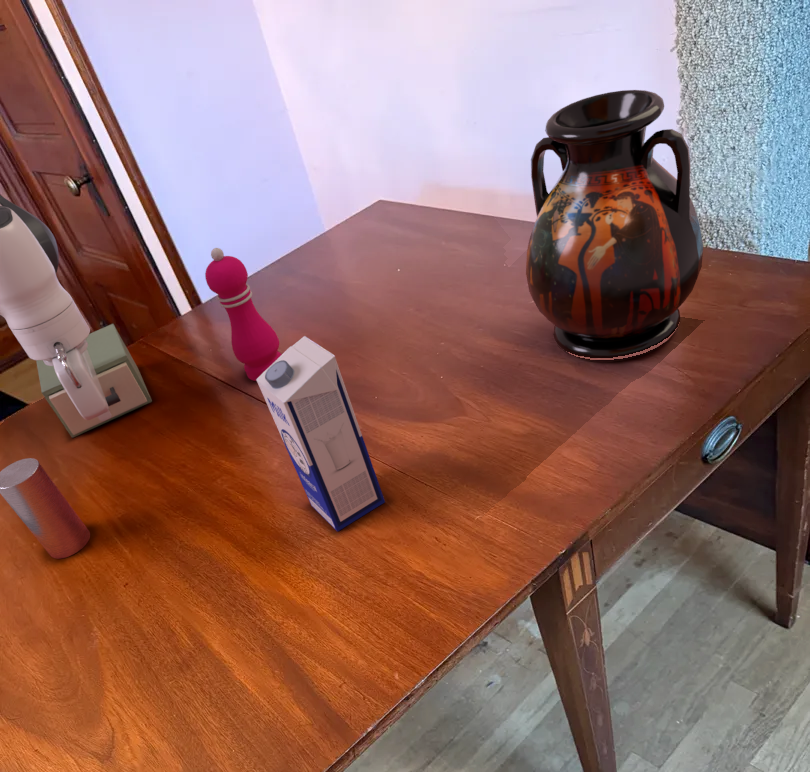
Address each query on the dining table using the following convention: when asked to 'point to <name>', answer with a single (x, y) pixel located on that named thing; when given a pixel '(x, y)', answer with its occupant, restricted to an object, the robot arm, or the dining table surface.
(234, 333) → the pepper mill
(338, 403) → the milk carton
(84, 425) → the drawer
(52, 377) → the cabinet
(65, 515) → the can
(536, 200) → the amphora vase
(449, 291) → the dining table surface
